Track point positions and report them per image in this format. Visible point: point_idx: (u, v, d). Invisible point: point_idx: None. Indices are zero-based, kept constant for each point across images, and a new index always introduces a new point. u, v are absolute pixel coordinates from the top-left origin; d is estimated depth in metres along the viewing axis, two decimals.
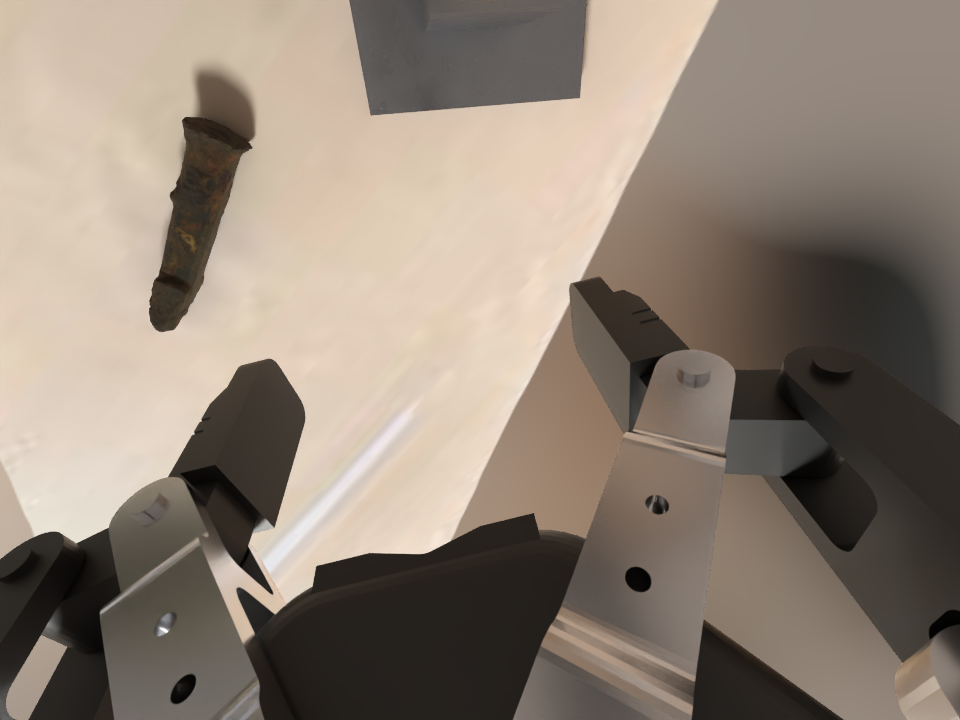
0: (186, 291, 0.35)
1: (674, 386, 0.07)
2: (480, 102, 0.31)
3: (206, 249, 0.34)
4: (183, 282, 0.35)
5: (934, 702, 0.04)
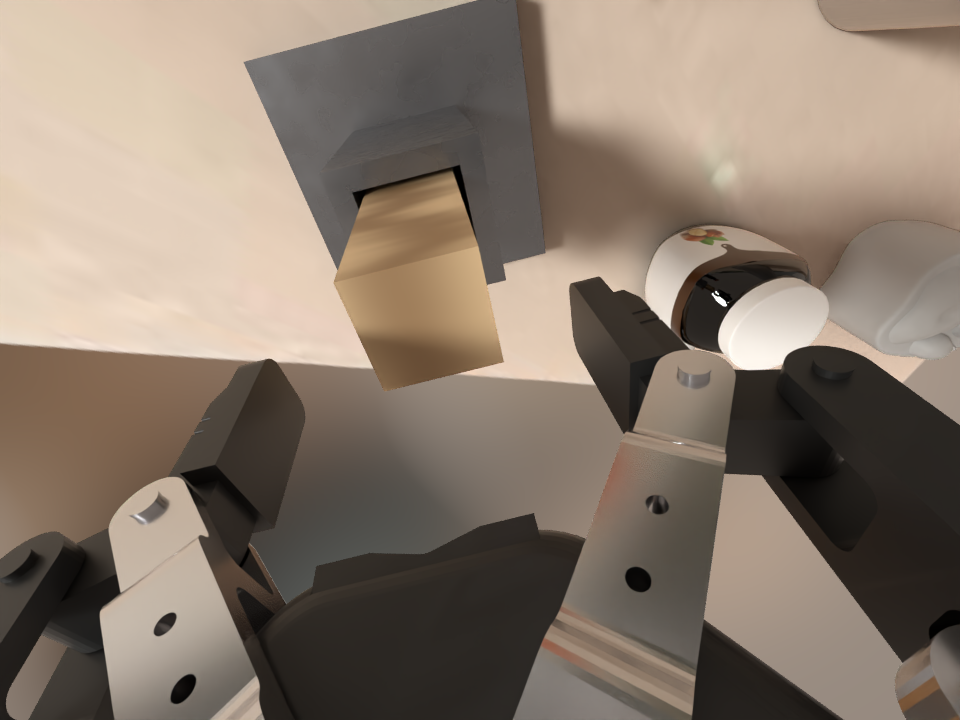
0: None
1: (674, 386, 0.07)
2: (311, 204, 0.29)
3: None
4: None
5: (934, 702, 0.04)
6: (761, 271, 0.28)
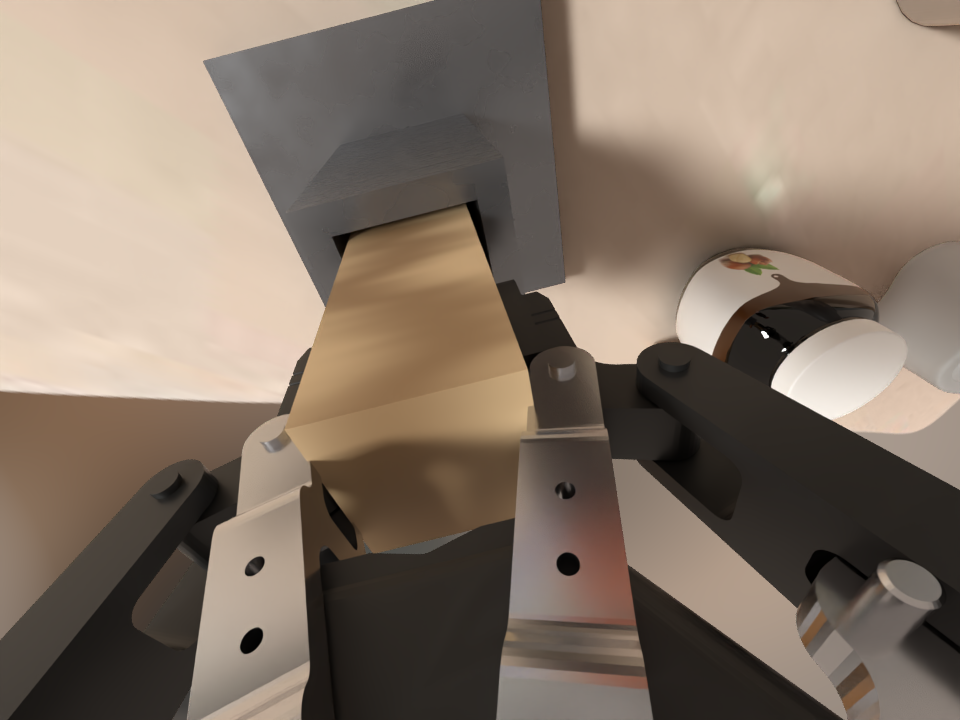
0: None
1: (541, 378, 0.08)
2: (291, 230, 0.24)
3: None
4: None
5: (833, 643, 0.05)
6: (826, 309, 0.24)
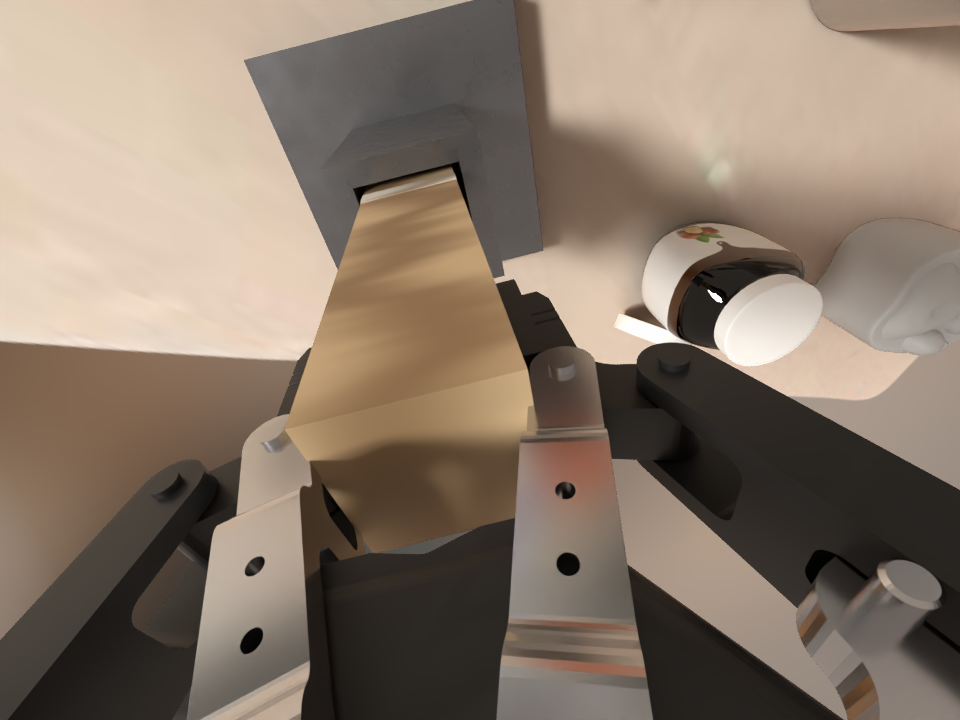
0: None
1: (541, 378, 0.08)
2: (311, 202, 0.29)
3: None
4: None
5: (833, 643, 0.05)
6: (756, 267, 0.29)
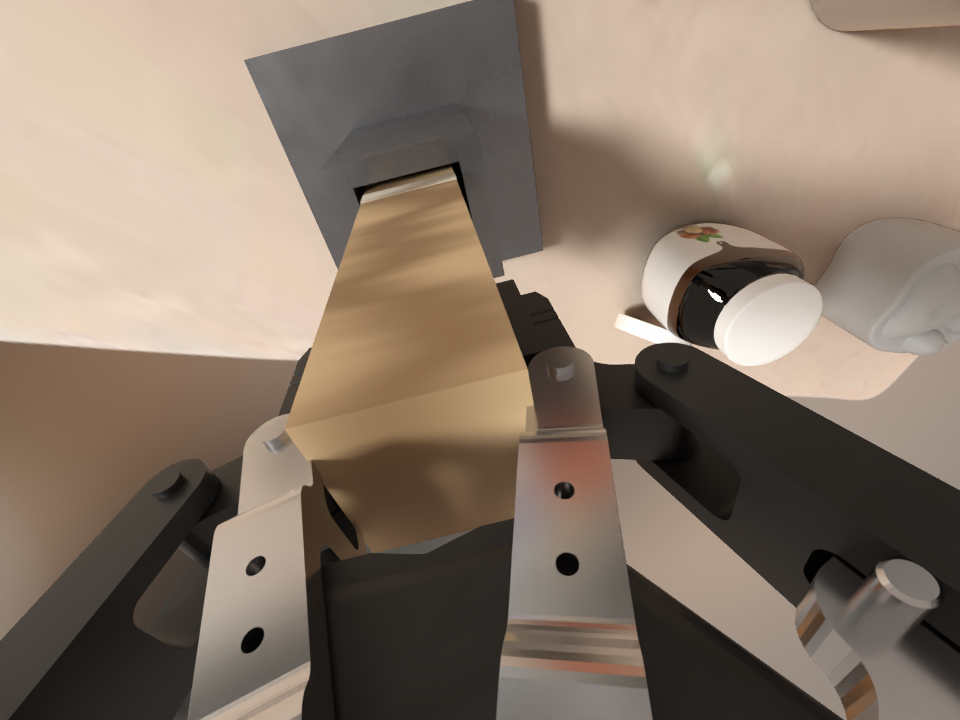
0: None
1: (540, 378, 0.08)
2: (311, 202, 0.29)
3: None
4: None
5: (832, 642, 0.05)
6: (756, 267, 0.29)
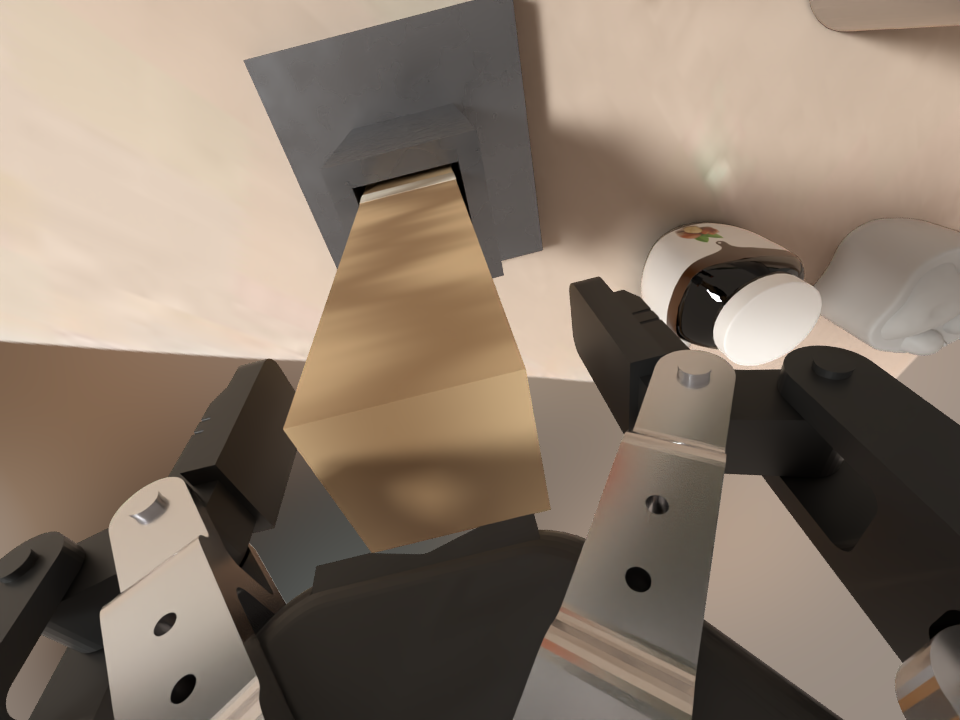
0: None
1: (674, 386, 0.07)
2: (311, 202, 0.29)
3: None
4: None
5: (934, 702, 0.04)
6: (755, 267, 0.29)
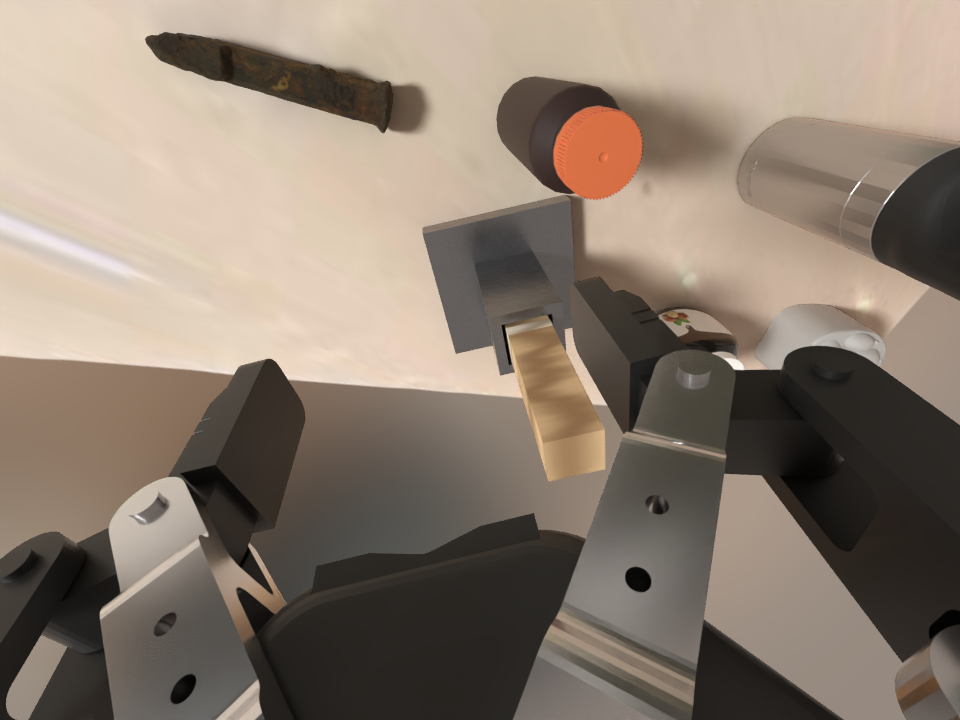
0: (222, 79, 0.33)
1: (674, 386, 0.07)
2: (443, 301, 0.49)
3: None
4: (229, 75, 0.33)
5: (934, 702, 0.04)
6: (707, 346, 0.48)
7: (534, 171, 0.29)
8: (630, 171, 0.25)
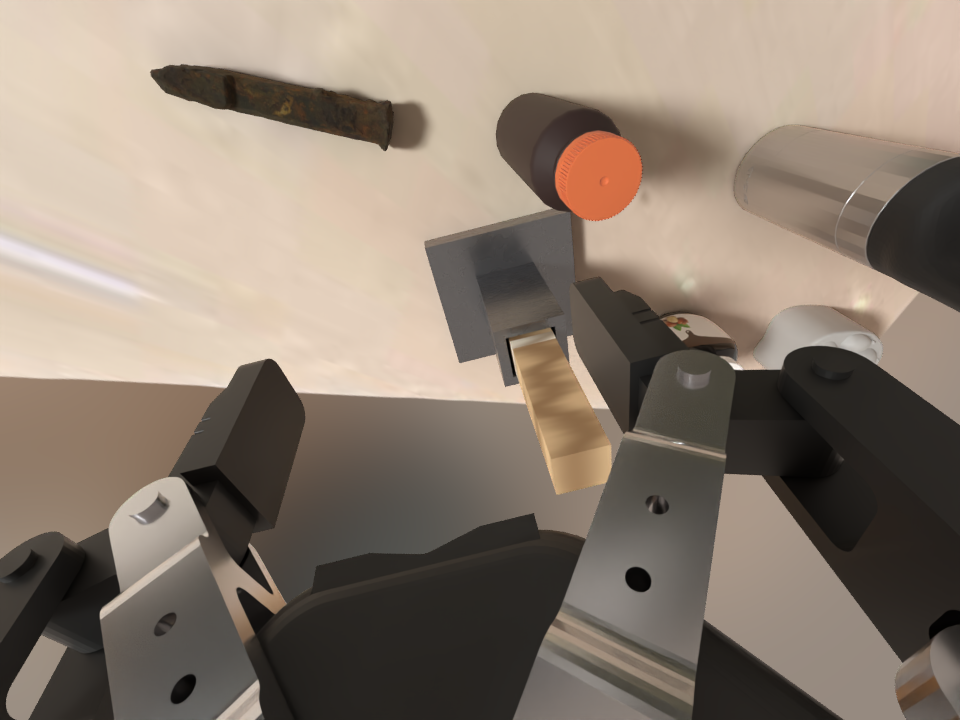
0: (226, 108, 0.34)
1: (674, 386, 0.07)
2: (446, 312, 0.49)
3: (280, 121, 0.36)
4: (233, 103, 0.34)
5: (934, 702, 0.04)
6: (707, 351, 0.49)
7: (536, 191, 0.30)
8: (630, 193, 0.26)
